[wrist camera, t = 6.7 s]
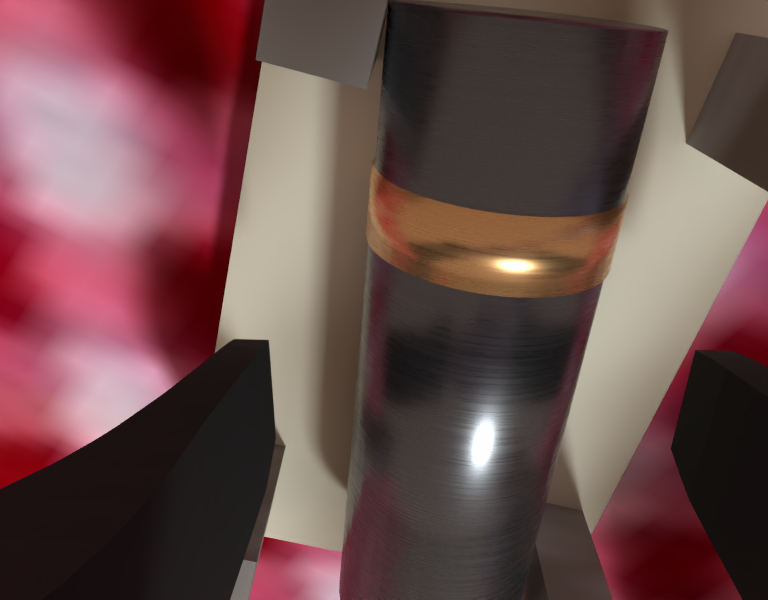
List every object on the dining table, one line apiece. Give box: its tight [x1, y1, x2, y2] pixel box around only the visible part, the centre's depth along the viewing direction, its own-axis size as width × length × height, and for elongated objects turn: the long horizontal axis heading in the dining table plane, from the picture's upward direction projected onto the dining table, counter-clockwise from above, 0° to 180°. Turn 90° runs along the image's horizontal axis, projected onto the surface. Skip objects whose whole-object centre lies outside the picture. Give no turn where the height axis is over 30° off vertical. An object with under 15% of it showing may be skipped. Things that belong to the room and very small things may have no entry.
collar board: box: [215, 0, 768, 600], centre depth 13 cm, size 10×15×4 cm, turn 166°
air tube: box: [339, 0, 668, 600], centre depth 12 cm, size 12×4×4 cm, turn 175°
